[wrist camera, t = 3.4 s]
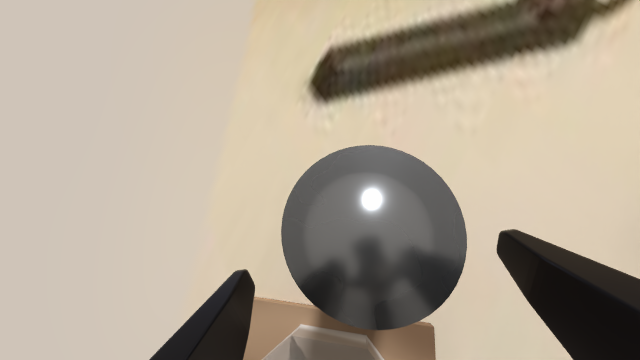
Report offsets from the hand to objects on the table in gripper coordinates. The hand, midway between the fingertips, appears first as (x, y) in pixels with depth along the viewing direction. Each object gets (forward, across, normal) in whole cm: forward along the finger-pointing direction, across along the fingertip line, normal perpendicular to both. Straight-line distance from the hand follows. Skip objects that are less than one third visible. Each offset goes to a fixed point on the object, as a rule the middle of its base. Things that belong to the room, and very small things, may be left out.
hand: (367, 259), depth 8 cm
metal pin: (+6, 0, +6) cm, 8 cm away
